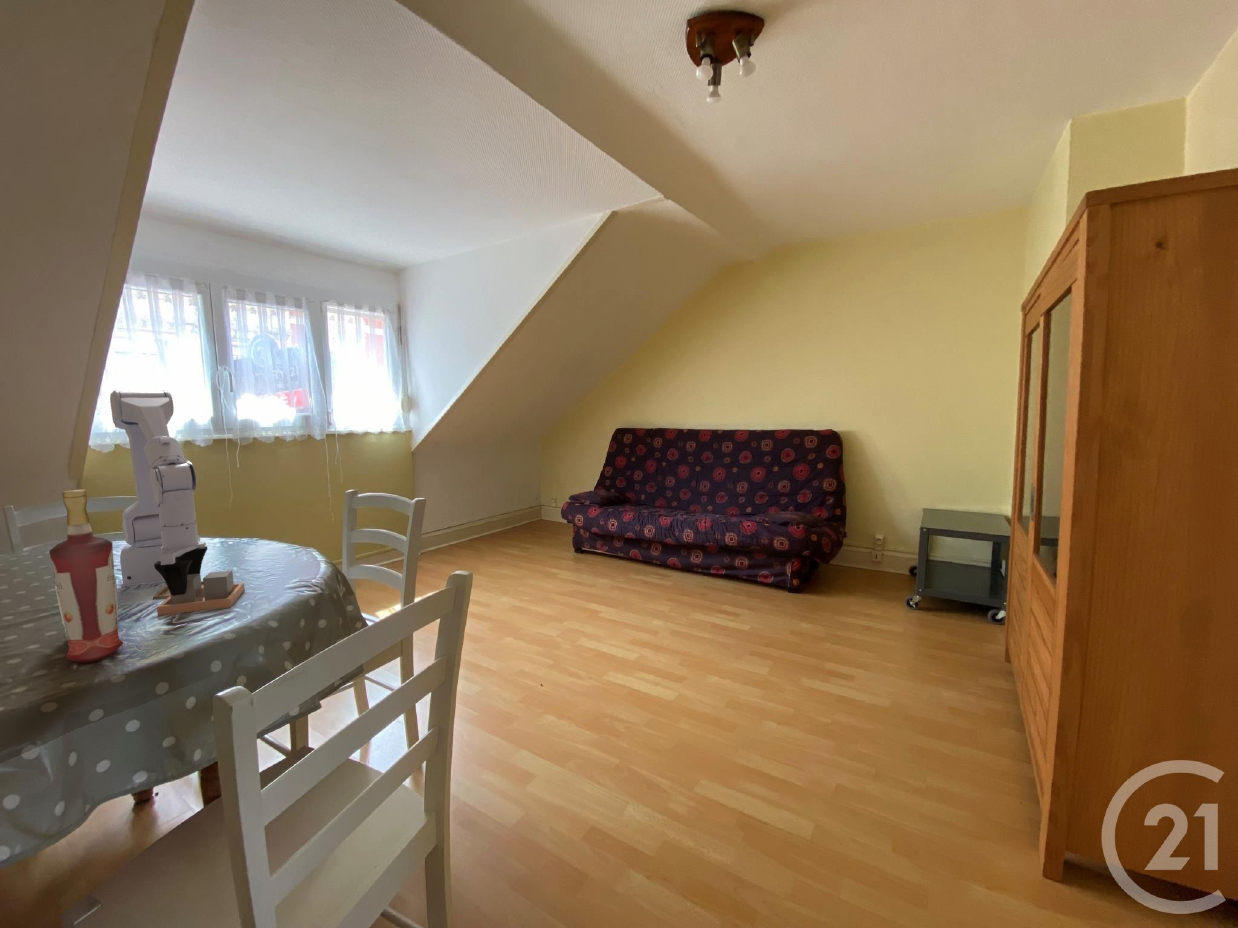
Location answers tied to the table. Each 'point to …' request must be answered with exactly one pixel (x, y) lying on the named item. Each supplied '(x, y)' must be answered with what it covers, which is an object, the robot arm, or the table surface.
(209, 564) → the table surface
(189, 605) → the terracotta dish
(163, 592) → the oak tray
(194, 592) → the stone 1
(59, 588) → the liquor
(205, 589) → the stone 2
